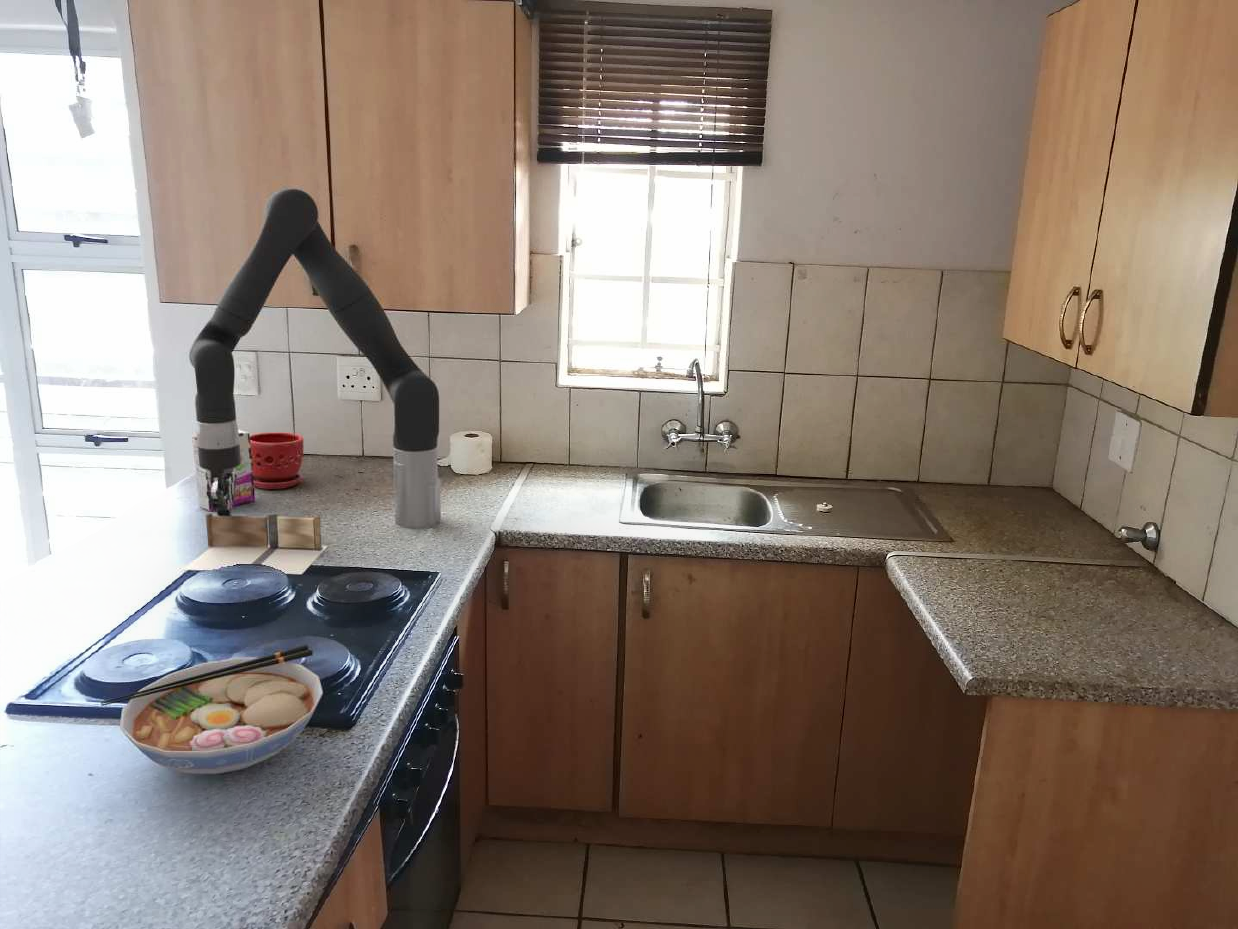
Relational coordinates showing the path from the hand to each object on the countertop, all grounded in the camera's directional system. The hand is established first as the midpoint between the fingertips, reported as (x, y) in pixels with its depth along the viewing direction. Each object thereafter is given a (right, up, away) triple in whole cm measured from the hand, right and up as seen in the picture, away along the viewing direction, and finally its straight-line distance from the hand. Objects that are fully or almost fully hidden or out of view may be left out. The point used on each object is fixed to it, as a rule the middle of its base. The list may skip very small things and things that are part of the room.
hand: (225, 526), depth 182 cm
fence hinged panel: (+3, -4, -2) cm, 5 cm away
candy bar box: (-10, +3, +25) cm, 27 cm away
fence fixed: (+15, -4, -1) cm, 15 cm away
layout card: (+9, -6, -7) cm, 13 cm away
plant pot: (-5, +7, +41) cm, 42 cm away
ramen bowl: (+30, -24, -69) cm, 79 cm away
